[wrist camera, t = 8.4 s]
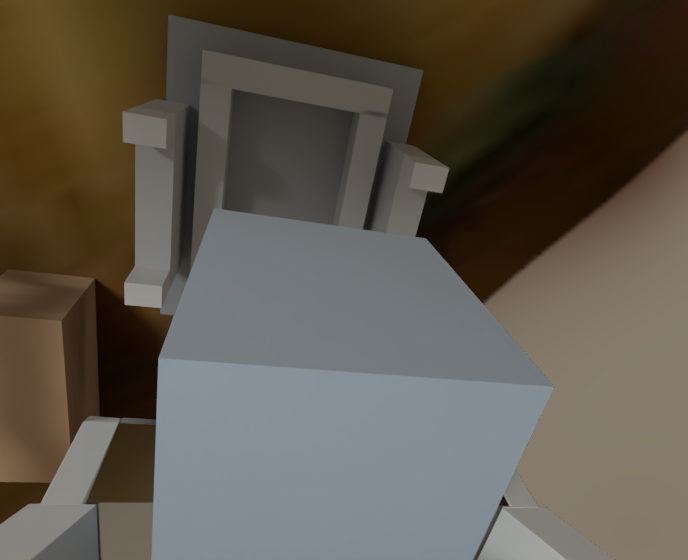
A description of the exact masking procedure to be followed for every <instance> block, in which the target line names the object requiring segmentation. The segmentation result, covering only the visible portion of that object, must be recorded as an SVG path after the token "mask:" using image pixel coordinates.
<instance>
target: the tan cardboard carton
mask: <svg viewBox="0 0 688 560" xmlns="http://www.w3.org/2000/svg"><path fill="white" fill-rule="evenodd" d="M89 416H97V417H100V410H99V382H98V354H97V326H96V298H95V278H87V277H77V276H68V275H58V274H48V273H39V272H29V271H19V270H10V269H8V270H7V271H6V272H5V273H4V274H2V275H1V276H0V482H49V483H51V482H52V480H53V478H54V477H55V475H56V473H57V471H58V469H59V467H60V465H61V463H62V461H63V459H64V457H65V455H66V453H67V451H68V450H69V448H70V446H71V444H72V442H73V440H74V438H75V436H76V434H77V432H78V430H79V428H80V426H81V424H82V423H83V422H84V421H85V420H86V419H87V418H88V417H89Z"/></svg>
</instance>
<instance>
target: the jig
mask: <svg viewBox="0 0 688 560" xmlns="http://www.w3.org/2000/svg"><path fill="white" fill-rule="evenodd" d="M423 71H424V70H420V69H416V68H411V67H406V66H402V65H397V64H393V63H388V62H384V61H379V60H374V59H370V58H365V57H361V56H356V55H352V54H347V53H343V52H338V51H333V50H329V49H324V48H320V47H315V46H311V45H306V44H301V43H297V42H292V41H288V40H283V39H279V38H274V37H270V36H265V35H260V34H256V33H251V32H247V31H242V30H238V29H233V28H228V27H224V26H219V25H215V24H210V23H206V22H201V21H197V20H192V19H187V18H183V17H178V16H174V15H169V14H168V42H167V80H166V101H165V100H160V99H154V100H152V101H149V102H146V103H144V104H141V105H139V106H136V107H133V108H131V109H128V110H125V111H123V142H126V143H132V144H135V267H134V268H133V270H132V271H131V273H130V275H129V276H128V278H127V279H126V281H125V282H124V294H125V305H133V306H144V307H155V308H160V314H167V315H175V312H176V309H177V307H178V304H179V301H180V299H181V296H182V293H183V290H184V288H185V285H186V282H187V280H188V277H189V274H190V272H191V269H192V266H193V264H194V261H195V258H196V255H197V253H198V250H199V247H200V245H201V242H202V239H203V237H204V234H205V231H206V229H207V226H208V223H209V220H210V218H211V215H212V212H213V210H214V208H215V209H222V210H229V211H236V212H243V213H250V214H257V215H264V216H271V217H278V218H286V219H293V220H300V221H307V222H314V223H321V224H328V225H335V226H342V227H349V228H356V229H363V230H370V231H377V232H384V233H391V234H398V235H405V236H412V237H415V236H416V233H417V229H418V225H419V221H420V218H421V214H422V210H423V207H424V203H425V199H426V196H427V192H428V191H431V192H438V193H443V189H444V186H445V182H446V179H447V175H448V172H449V168H448V167H447V166H445V165H444V164H442V163H440V162H439V161H437V160H436V159H434V158H433V157H431V156H429V155H428V154H426V153H425V152H423V151H421V150H420V149H418V148H417V147H415V146H413V145H408V144H406V141H407V137H408V133H409V129H410V125H411V121H412V116H413V112H414V108H415V104H416V100H417V96H418V91H419V87H420V83H421V79H422V75H423Z"/></svg>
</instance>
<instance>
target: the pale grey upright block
mask: <svg viewBox="0 0 688 560" xmlns="http://www.w3.org/2000/svg"><path fill="white" fill-rule="evenodd" d="M553 389H554V386H553V384H552V383H551V382H550V381H549V380H548V379H547V377H546V376H545V375H544V374H543V373H542V372H541V371H540V370H539V368H538V367H537V366H536V365H535V364H534V362H533V361H532V360H531V359H530V358H529V357H528V356H527V354H526V353H525V352H524V351H523V350H522V349H521V347H520V346H519V345H518V344H517V343H516V342H515V341H514V339H513V338H512V337H511V336H510V335H509V334H508V332H507V331H506V330H505V329H504V328H503V327H502V326H501V324H500V323H499V322H498V321H497V320H496V319H495V317H494V316H493V315H492V314H491V313H490V312H489V311H488V309H487V308H486V307H485V306H484V305H483V304H482V302H481V301H480V300H479V299H478V298H477V297H476V296H475V294H474V293H473V292H472V291H471V290H470V289H469V287H468V286H467V285H466V284H465V283H464V282H463V281H462V279H461V278H460V277H459V276H458V275H457V274H456V272H455V271H454V270H453V269H452V268H451V267H450V266H449V264H448V263H447V262H446V261H445V260H444V259H443V257H442V256H441V255H440V254H439V253H438V252H437V251H436V249H435V248H434V247H433V246H432V245H431V244H430V242H429V241H428V240H427V239H426V238H419V237H412V236H405V235H398V234H391V233H384V232H377V231H370V230H363V229H356V228H349V227H342V226H335V225H328V224H321V223H314V222H307V221H300V220H293V219H286V218H278V217H271V216H264V215H257V214H250V213H243V212H236V211H229V210H222V209H215V208H214V210H213V212H212V215H211V218H210V220H209V223H208V226H207V229H206V231H205V234H204V237H203V239H202V242H201V245H200V247H199V250H198V253H197V255H196V258H195V261H194V264H193V266H192V269H191V272H190V274H189V277H188V280H187V282H186V285H185V288H184V290H183V293H182V296H181V299H180V301H179V304H178V307H177V309H176V312H175V315H174V317H173V320H172V323H171V326H170V328H169V331H168V334H167V336H166V339H165V342H164V344H163V347H162V350H161V352H160V355H159V358H158V384H157V413H156V441H155V470H154V498H153V527H152V556H151V560H473V558H474V556H475V554H476V552H477V550H478V547H479V545H480V543H481V541H482V539H483V537H484V535H485V533H486V531H487V528H488V526H489V524H490V522H491V520H492V518H493V516H494V514H495V512H496V510H497V507H498V505H499V503H500V501H501V499H502V497H503V495H504V493H505V491H506V488H507V486H508V484H509V482H510V480H511V478H512V476H513V474H514V472H515V469H516V467H517V465H518V463H519V461H520V459H521V457H522V455H523V453H524V450H525V448H526V446H527V444H528V442H529V440H530V438H531V436H532V434H533V432H534V429H535V427H536V425H537V423H538V421H539V419H540V417H541V415H542V413H543V410H544V408H545V406H546V404H547V402H548V400H549V398H550V396H551V394H552V391H553Z"/></svg>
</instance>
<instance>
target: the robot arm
mask: <svg viewBox="0 0 688 560" xmlns="http://www.w3.org/2000/svg"><path fill="white" fill-rule="evenodd" d="M155 441H156V420H152V419H137V418H111V417H97V416H89V417H88V418H87V419H86V420H85V421H84V422H83V423H82V424H81V426H80V428H79V430H78V432H77V434H76V436H75V438H74V440H73V442H72V444H71V446H70V448H69V450H68V451H67V453H66V455H65V457H64V459H63V461H62V463H61V465H60V467H59V469H58V471H57V473H56V475H55V477H54V478H53V480H52V482H51V484H50V486H49V488H48V490H47V492H46V494H45V496H44V498H43V500H42V502H41V504H28V505H27V506H25V507H24V508H22V509H21V510H20V511H18V512H17V513H15V514H14V515H13V516H11V517H10V518H9V519H7V520H6V521H4V522H3V523H2V524H0V560H151V556H152V527H153V498H154V470H155ZM473 560H615V559H613V558H612V557H611V556H609V555H608V554H607V553H605V552H604V551H603V550H601V549H600V548H598V547H597V546H596V545H595V544H594V543H592V542H591V541H590V540H588V539H587V538H586V537H584V536H583V535H582V534H581V533H579V532H578V531H576V530H575V529H574V528H573V527H571V526H570V525H569V524H567V523H566V522H565V521H563V520H562V519H561V518H560V517H558V516H557V515H556V514H554V513H553V512H552V511H550V510H549V509H548V508H547V507H538V505H537V504H536V502H535V500H534V499H533V497H532V495H531V494H530V492H529V490H528V489H527V487H526V485H525V484H524V482H523V480H522V479H521V477H520V475H519V474H518V472H517V470H516V469H515V472H514V474H513V476H512V478H511V480H510V482H509V484H508V486H507V488H506V491H505V493H504V495H503V497H502V499H501V501H500V503H499V505H498V507H497V510H496V512H495V514H494V516H493V518H492V520H491V522H490V524H489V526H488V528H487V531H486V533H485V535H484V537H483V539H482V541H481V543H480V545H479V547H478V550H477V552H476V554H475V556H474V558H473Z"/></svg>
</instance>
